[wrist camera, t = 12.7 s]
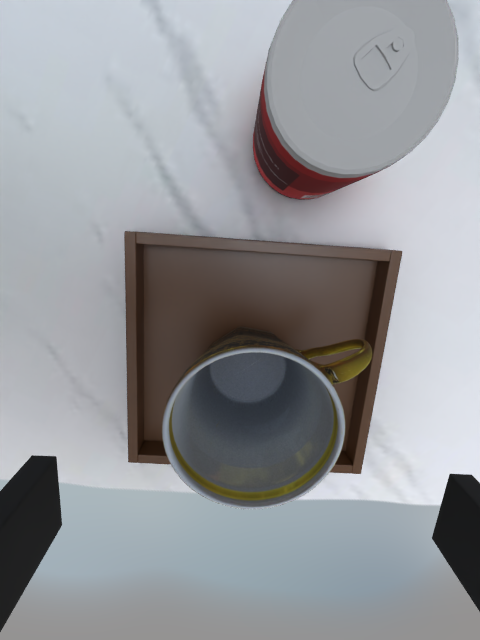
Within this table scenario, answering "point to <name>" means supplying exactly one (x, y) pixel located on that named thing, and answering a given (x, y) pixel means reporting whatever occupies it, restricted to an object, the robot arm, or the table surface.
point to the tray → (249, 318)
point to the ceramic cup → (258, 418)
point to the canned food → (351, 90)
